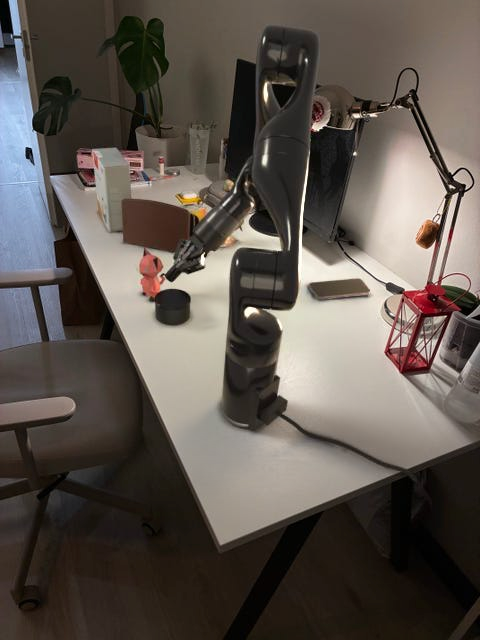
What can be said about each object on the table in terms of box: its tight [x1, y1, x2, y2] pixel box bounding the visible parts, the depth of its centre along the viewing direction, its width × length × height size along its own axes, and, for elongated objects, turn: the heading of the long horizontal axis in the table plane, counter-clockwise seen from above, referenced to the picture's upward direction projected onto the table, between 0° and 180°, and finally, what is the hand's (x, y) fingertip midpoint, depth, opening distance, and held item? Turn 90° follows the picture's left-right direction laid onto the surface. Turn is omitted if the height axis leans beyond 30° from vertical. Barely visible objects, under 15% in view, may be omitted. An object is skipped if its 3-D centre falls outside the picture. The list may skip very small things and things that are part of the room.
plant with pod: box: [219, 179, 245, 248], centre depth 144 cm, size 8×11×20 cm
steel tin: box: [153, 288, 192, 326], centre depth 116 cm, size 8×8×5 cm
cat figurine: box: [135, 247, 166, 303], centre depth 120 cm, size 7×7×12 cm
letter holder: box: [121, 198, 199, 253], centre depth 143 cm, size 10×20×14 cm, turn 76°
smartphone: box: [308, 277, 371, 300], centre depth 132 cm, size 7×1×15 cm
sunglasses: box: [182, 203, 207, 222], centre depth 161 cm, size 14×15×5 cm
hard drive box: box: [91, 147, 133, 233], centre depth 150 cm, size 16×8×20 cm, turn 25°
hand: (167, 279), depth 123 cm, fingers closed
